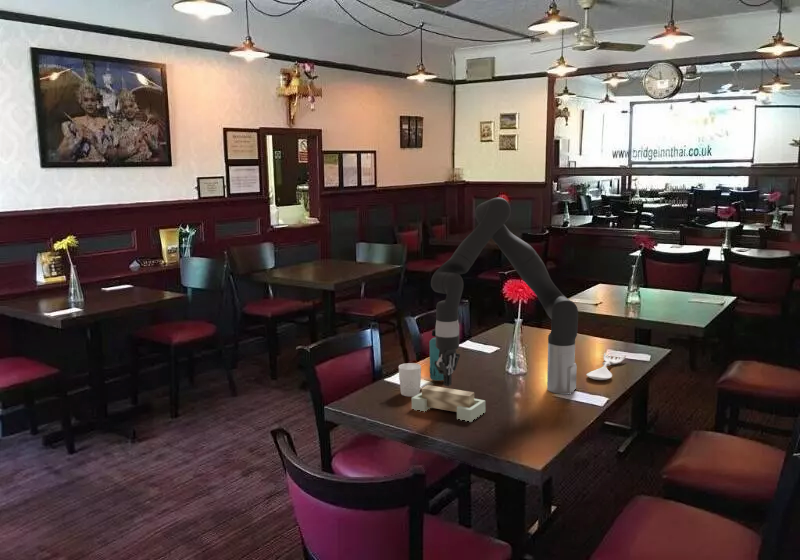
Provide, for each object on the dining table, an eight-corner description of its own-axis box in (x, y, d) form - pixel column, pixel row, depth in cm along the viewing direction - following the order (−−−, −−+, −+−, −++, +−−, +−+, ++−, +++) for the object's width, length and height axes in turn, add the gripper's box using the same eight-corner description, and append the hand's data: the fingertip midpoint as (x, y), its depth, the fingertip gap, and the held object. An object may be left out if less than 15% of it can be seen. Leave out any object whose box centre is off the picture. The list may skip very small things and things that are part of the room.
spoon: (626, 362, 267) (627, 354, 266) (608, 385, 240) (608, 376, 239) (603, 359, 271) (604, 351, 271) (583, 381, 244) (583, 372, 244)
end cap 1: (411, 409, 219) (411, 397, 219) (427, 400, 228) (427, 389, 227) (424, 412, 217) (424, 400, 216) (440, 402, 225) (440, 391, 224)
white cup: (414, 398, 230) (413, 370, 228) (394, 395, 234) (394, 367, 232) (425, 392, 236) (425, 364, 235) (406, 388, 240) (406, 361, 239)
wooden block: (474, 410, 215) (474, 392, 214) (469, 414, 211) (469, 396, 210) (427, 402, 223) (427, 384, 222) (422, 405, 220) (421, 388, 219)
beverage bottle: (449, 380, 249) (449, 328, 245) (443, 385, 243) (442, 332, 239) (433, 378, 251) (432, 326, 248) (426, 383, 245) (425, 330, 242)
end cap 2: (485, 412, 215) (485, 400, 215) (470, 422, 207) (470, 410, 207) (471, 409, 218) (471, 397, 217) (456, 419, 210) (456, 407, 209)
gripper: (447, 339, 206) (447, 393, 209) (467, 330, 216) (467, 381, 219) (426, 336, 210) (427, 389, 213) (447, 327, 221) (447, 377, 223)
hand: (447, 385), depth 216 cm, fingers closed
